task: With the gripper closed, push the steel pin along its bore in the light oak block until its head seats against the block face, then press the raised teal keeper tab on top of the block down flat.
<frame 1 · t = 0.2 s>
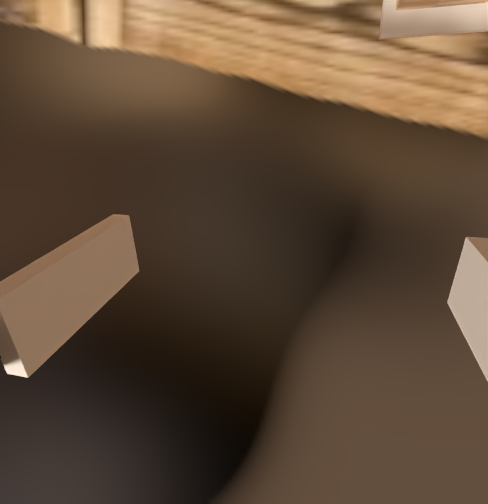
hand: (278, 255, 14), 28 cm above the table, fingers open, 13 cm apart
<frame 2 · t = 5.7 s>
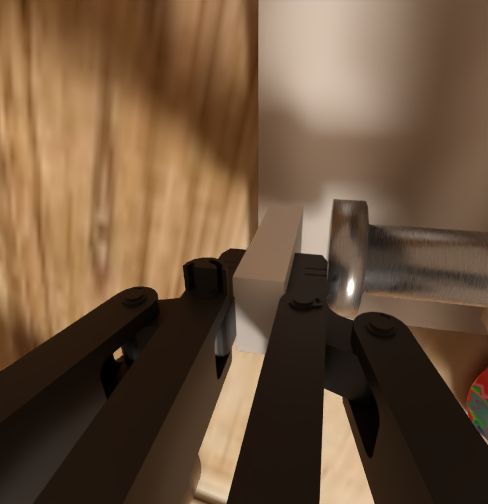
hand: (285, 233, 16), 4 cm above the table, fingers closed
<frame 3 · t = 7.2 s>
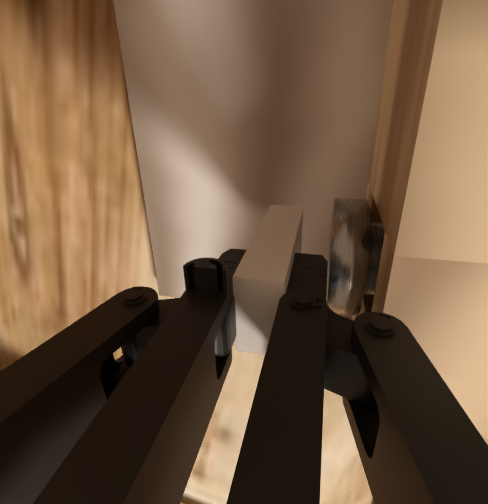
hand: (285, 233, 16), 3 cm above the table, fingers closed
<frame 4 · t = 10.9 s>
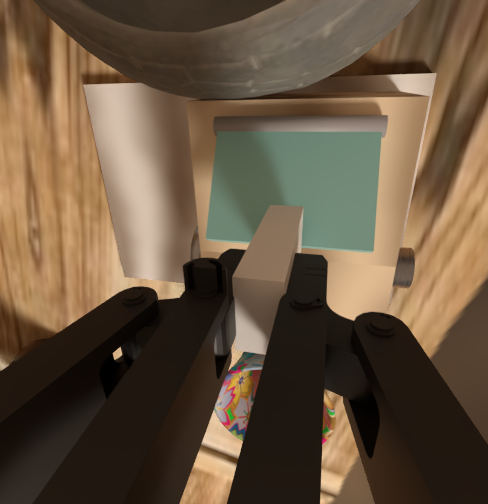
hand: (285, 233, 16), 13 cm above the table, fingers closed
pin: (298, 259, 25), point 5 cm above the table, slide at 7.7 cm
keeper tab: (291, 180, 17), point 11 cm above the table, hinge at 32.1°, touching gripper
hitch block: (304, 198, 28), on the table
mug: (282, 332, 35), on the table
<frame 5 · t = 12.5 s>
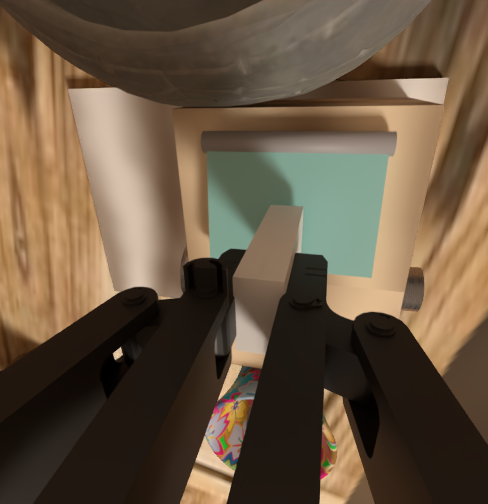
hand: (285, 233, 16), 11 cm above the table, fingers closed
pin: (297, 277, 23), point 5 cm above the table, slide at 7.7 cm
keeper tab: (290, 204, 16), point 10 cm above the table, hinge at 6.9°
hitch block: (303, 210, 26), on the table
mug: (281, 349, 33), on the table
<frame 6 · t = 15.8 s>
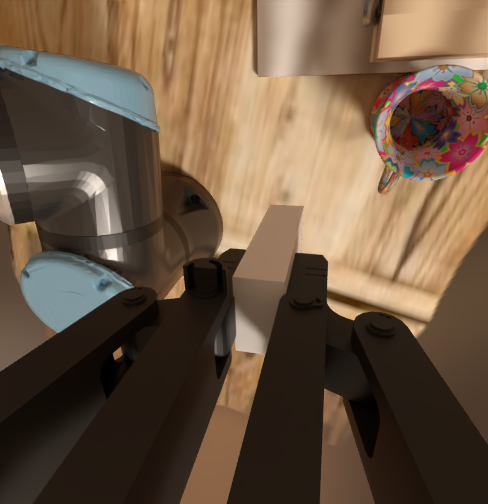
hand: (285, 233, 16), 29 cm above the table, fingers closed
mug: (402, 127, 39), on the table
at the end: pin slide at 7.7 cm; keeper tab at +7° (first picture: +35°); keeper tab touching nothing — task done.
